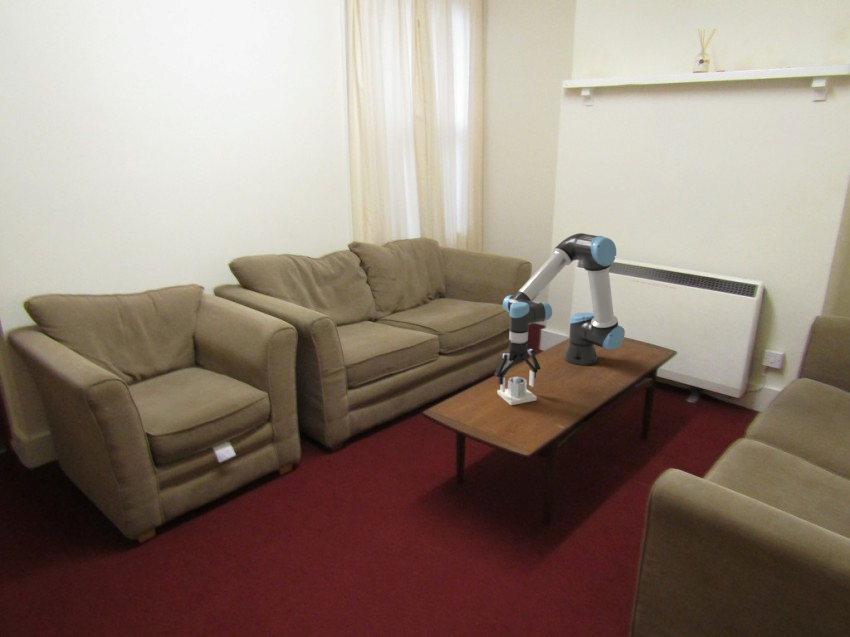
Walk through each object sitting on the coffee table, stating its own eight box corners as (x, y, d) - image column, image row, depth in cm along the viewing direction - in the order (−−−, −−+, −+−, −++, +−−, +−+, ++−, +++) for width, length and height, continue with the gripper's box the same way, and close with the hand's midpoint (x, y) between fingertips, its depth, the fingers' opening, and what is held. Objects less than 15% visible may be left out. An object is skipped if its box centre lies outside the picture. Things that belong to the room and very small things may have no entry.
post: (522, 388, 244) (522, 370, 241) (536, 400, 233) (537, 381, 230) (497, 393, 240) (497, 375, 237) (510, 405, 229) (511, 386, 227)
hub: (520, 388, 240) (520, 375, 239) (528, 395, 234) (529, 382, 232) (505, 391, 238) (505, 378, 236) (513, 398, 232) (513, 385, 230)
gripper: (540, 333, 236) (538, 380, 243) (486, 341, 228) (486, 389, 235) (550, 339, 230) (547, 386, 236) (495, 347, 221) (494, 397, 228)
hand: (517, 388), depth 235 cm, fingers open, 13 cm apart
